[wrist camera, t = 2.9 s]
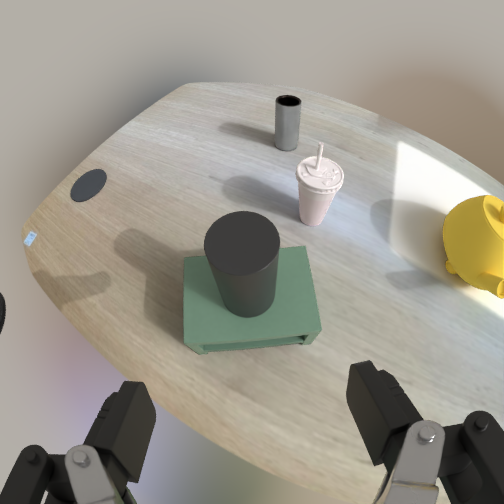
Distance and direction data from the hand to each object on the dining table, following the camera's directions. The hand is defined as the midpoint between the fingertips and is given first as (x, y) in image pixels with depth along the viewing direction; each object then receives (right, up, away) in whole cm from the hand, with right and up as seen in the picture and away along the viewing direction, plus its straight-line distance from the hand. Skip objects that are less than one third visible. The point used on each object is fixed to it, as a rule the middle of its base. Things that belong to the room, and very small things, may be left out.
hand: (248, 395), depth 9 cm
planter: (+7, +27, +42) cm, 50 cm away
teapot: (+37, +2, +27) cm, 46 cm away
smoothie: (+9, +11, +33) cm, 36 cm away
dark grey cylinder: (0, +1, +20) cm, 20 cm away
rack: (0, -2, +26) cm, 26 cm away
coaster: (-34, +19, +40) cm, 56 cm away
